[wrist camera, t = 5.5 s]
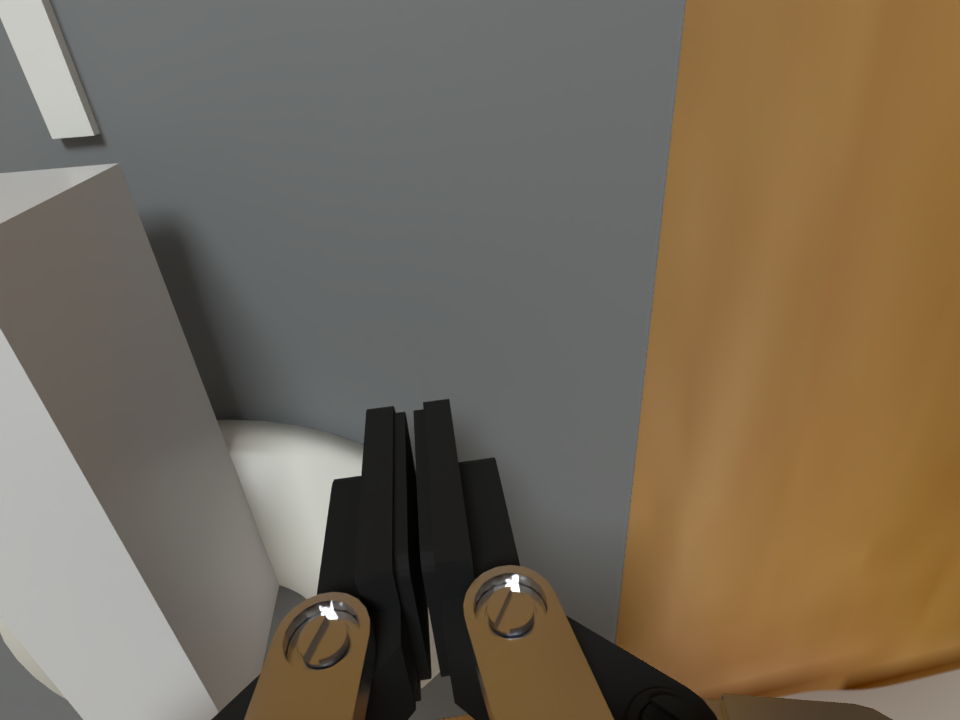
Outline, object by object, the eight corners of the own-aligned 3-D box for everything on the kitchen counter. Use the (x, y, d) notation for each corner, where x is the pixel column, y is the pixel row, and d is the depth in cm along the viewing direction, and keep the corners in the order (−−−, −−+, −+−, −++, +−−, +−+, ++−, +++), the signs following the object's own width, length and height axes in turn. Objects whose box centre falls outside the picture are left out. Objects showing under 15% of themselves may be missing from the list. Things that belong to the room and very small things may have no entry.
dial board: (660, -79, 11) (702, -94, 9) (598, 654, 23) (612, 697, 22) (-961, 16, 9) (-1238, 15, 7) (-76, 762, 21) (-111, 817, 20)
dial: (478, 671, 20) (501, 857, 15) (124, 728, 19) (41, 943, 15) (419, 126, 11) (436, 201, 6) (-286, 185, 10) (-870, 326, 5)
